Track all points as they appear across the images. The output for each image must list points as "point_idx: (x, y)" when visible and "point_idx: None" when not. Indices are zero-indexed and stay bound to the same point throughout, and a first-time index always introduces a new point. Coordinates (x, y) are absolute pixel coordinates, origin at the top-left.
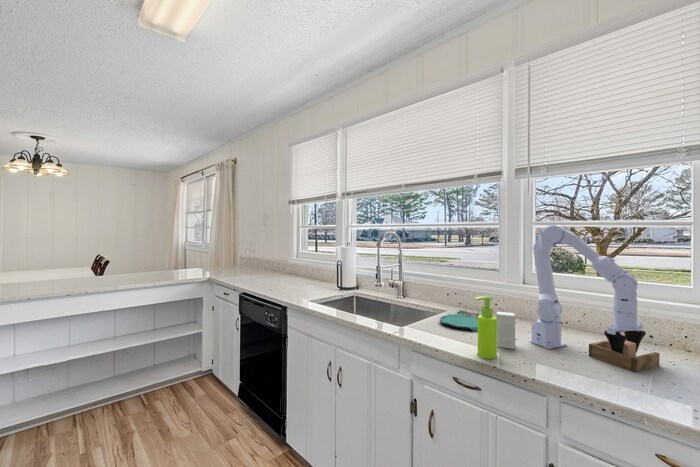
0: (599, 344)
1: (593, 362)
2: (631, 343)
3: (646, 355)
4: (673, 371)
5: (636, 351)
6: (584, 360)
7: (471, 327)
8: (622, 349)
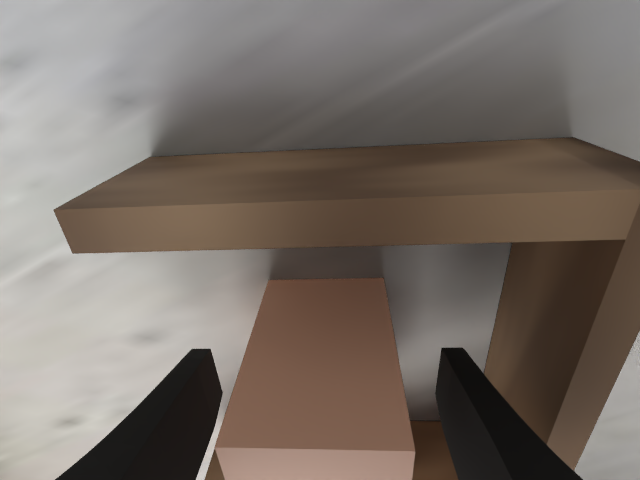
0: None
1: None
2: (290, 462)
3: (341, 220)
4: (130, 13)
5: (192, 357)
6: (630, 407)
7: None
8: (486, 408)
